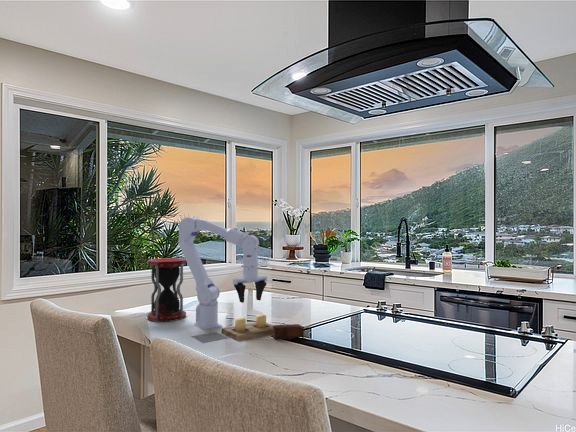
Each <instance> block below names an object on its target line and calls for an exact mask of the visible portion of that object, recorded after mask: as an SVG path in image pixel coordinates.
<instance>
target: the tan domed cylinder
mask: <svg viewBox="0 0 576 432" xmlns="http://www.w3.org/2000/svg"><path fill="white" fill-rule="evenodd" d="M255 322H256V328H258V329H260V328H266V323H267V315H266V314H257V315H255Z"/></svg>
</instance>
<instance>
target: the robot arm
mask: <svg viewBox="0 0 576 432" xmlns="http://www.w3.org/2000/svg"><path fill="white" fill-rule="evenodd" d="M177 228H178V245H179V247H180V250H181V251H182V254H183V256H184V259H186V264H187V265H188V267H189V270H190V273H191V274H192V277H193V278H194V281H195V283H196V284H195V285H196V286H195V291H196V293H197V294H196V297H197V301H198V302H199V303H198V304H197V305H196V307H195V322H194V323H193V325H194V326H196V327H199V328H200V329H202V330H206V329H212V328H218V327H223V324H220V323H218V320H219V317H218V316H219V312H218V309H219V306H218V303H219V301H218V298H220V292H221V291H220V289H219V287H218V286H216V285H215V283H214V281H213V280H212V278H210V276H209V275H208V273H207V270H206V268H205V266H204V263H203V261H202V259H201V257H200V255H199V252H198V250H197V248H196V245H195V244H194V241H195V239H196V237H197V236H198V234H199V233H200V232H201V231H208V232H210V233H213V234H215V235H219V236H221V237H223V238H224V239H225V242H227V243H229V244H233V245H235V246H237V247H241V248H242V249H243V255H242V277H237V278H232V284H233V287H234V289H235V290H236V293H237V296H238V299H239V302H240V303H242V304H244V302H245V292H246V287H247V286H246V285H245V284H249V283H250V284H251V283H254V285H255V299H256V300H257V301H261V299H262V295H263V292H264V290H265V287H267V282H268V276H266V275H259V269H258V268H259V267H258V266H259V262H258V261H259V254H258V248H259V246H260V241H259V238H258V237H257V236H255V235H254V234H251V235H250V234H249V232H243V231H241V230H239V228H238V227H230V228H228V229H227V228H225V227H223V226H221V225H219V224H217V223H214V222H212V221H210V220H207V219H204V218H200V217H197V216H195V217H189V216H186V217H183V218H182V219H181V221H180V222H179V224H178V226H177Z"/></svg>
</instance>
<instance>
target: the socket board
mask: <svg viewBox="0 0 576 432" xmlns="http://www.w3.org/2000/svg"><path fill="white" fill-rule="evenodd" d="M274 325H275V324H271V323H269V322H266V328H260V329H258V328H256V321H255V322H251V323H246V331H244V332H238V333H237V332H235V325H232V326H228V327H222V328H221V334H222V335H224V336H226V337H228V338H231V339H233V340H235V341H238V342H239V341H243V340H249V339H254V338H258V337H264V336H269V335H272V336H273V326H274Z"/></svg>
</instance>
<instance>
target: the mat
mask: <svg viewBox="0 0 576 432" xmlns="http://www.w3.org/2000/svg"><path fill="white" fill-rule="evenodd" d="M190 337H191V338H193V339H194V340H196V341H198V342H200V343H201V344H205V343H211V342H217V341H221V340H226V339H229V336H227V335H225V334H222V333H219V332H217V331H214V332H208V333H202V334H197V335H191V336H190Z"/></svg>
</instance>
